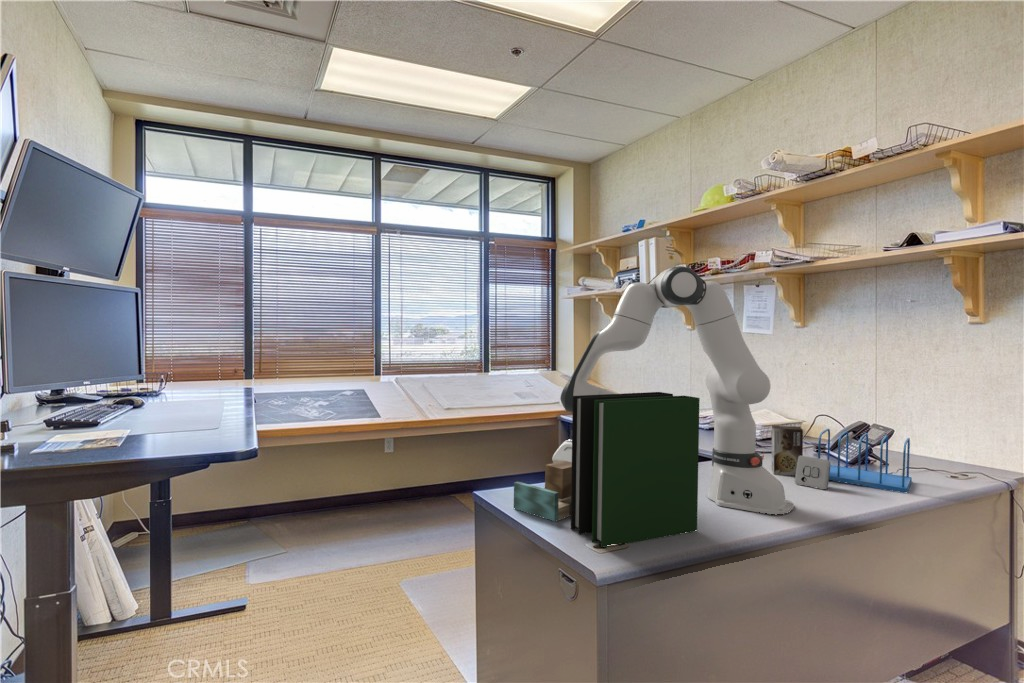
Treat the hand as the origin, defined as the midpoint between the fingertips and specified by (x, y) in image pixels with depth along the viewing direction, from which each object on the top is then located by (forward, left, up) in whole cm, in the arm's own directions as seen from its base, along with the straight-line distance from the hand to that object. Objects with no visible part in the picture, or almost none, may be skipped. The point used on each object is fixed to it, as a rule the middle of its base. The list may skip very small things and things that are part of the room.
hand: (572, 483), depth 152 cm
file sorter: (-53, -88, -5) cm, 103 cm away
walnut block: (0, +5, -2) cm, 5 cm away
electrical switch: (-43, -68, -5) cm, 81 cm away
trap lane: (0, +7, -5) cm, 8 cm away
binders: (-23, +7, -5) cm, 25 cm away
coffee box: (-32, -79, -5) cm, 86 cm away
